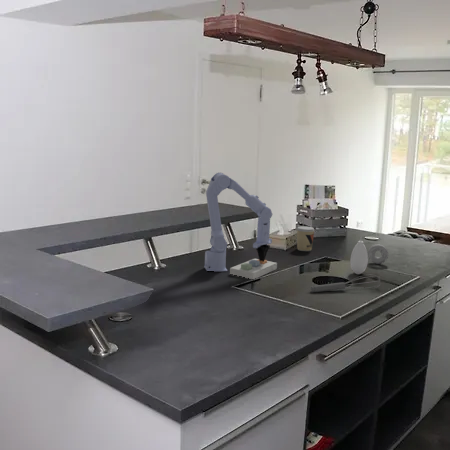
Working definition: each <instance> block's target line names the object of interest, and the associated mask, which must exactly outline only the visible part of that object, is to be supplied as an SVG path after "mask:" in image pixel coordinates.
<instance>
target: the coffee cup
mask: <svg viewBox="0 0 450 450" xmlns="http://www.w3.org/2000/svg"><path fill="white" fill-rule="evenodd" d="M296 232H297V233H296V243H297V244H296V246H297V247H296V249H297V250H298V251H301V252H311V251H312V250H313V242H314V235H315V232H316V231H315V228H314V227H312V226H306V225H305V226H303V225H301V226H297V228H296Z"/></svg>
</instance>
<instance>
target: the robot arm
mask: <svg viewBox="0 0 450 450" xmlns="http://www.w3.org/2000/svg"><path fill="white" fill-rule="evenodd" d="M226 189H228V190H232V191H234V192H236V194H238V195H239V196H240V197H241V198H242V199H244V201H245V203H244V204H245V205H246V206H247V207H248V208H249V209H250V210H251V211H252V212H254V213H255V214H256V215H257V227H256V228H257V229H256V230H257V232H256V241H255V242H253V243H252V248H253V249H255V250H256V251H257V255H258V259H259V260H261V261H264V260H266V256H267V253H268V251H269V250H270V248H271V244H272V243H273V239H272V238H270V233H271V232H270V229H271V218H272V217H273V212H272V209H271V208H270V207H269V206H267V204H266V203H265V202H263V201H262V200H260V198H259V196H258V195H255V194H250V193H249V192H247V191H246V190H245V189H244V188H243V186H241V185H240V184H239V183H238V182H237V181H236V180H234V179H232V178H231V177H230V176H228V175H227V174H225V173H223V172H216V173H214V175H213V176H212V177H211V178H210V182H209V184H208V186H207V188H206V192H205V195H206V202H207V204H206V205H207V211H208V217H209V223H210V235H211V236H210V238H209V243H210V245H211V247H210V250H206V251H204V252H205V253H204V266H203V267H204V269H205V271H206V272H207V271H214V272H228V269H227V267H226V262H227V261H226V260H227V259H226V258H227V247H228V243H227V241H226V239H225V235H224V232H223V227H222V220H221V213H220V206H219V200H218V196H219V195H220V194H221V193H222V191H224V190H226Z"/></svg>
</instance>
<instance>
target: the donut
mask: <svg viewBox="0 0 450 450" xmlns="http://www.w3.org/2000/svg"><path fill="white" fill-rule="evenodd" d="M376 252H380V253H381V255H380V256H376ZM367 254H368V260H370V261H371V262H372V263H373V264H377V265H381V264H384V263H385V262H387V260H388V259H389V251H388V249H387V248H386V246H384V245H383V244H379V243H378V244H377V243H376V244H373V245H371V246H370V247H369V249H368V250H367Z"/></svg>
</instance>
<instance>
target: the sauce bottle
mask: <svg viewBox="0 0 450 450" xmlns="http://www.w3.org/2000/svg"><path fill="white" fill-rule="evenodd" d="M362 237H363V236H360V239H359V240H358V241H357V243H356V244H355V245H354V246H353V249H352V251H351V253H350V254H351V255H350V260H349V263H350V264H349V265H350V268H351V271H353V272H354V274H356V275H361V274H363V273H364V272H365V270H366V269H367V267H368V263H369V257H368V250H367V248H366V245H365V244H364V243H365V242H364V241H363V240H362Z"/></svg>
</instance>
